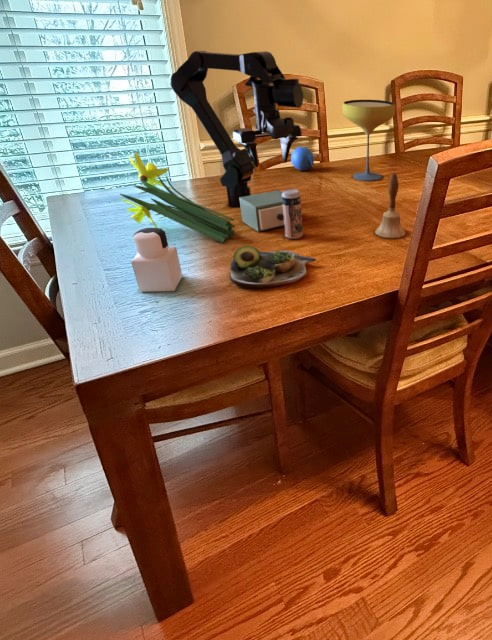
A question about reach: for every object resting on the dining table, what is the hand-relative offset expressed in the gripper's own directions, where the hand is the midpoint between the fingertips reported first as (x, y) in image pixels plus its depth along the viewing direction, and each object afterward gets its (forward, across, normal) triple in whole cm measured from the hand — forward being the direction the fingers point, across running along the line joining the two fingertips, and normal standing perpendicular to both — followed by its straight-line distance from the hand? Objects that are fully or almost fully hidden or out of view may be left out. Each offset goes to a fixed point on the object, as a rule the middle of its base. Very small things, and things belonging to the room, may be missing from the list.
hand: (271, 164), depth 135 cm
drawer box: (+13, -7, -10) cm, 18 cm away
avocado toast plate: (+13, -23, -38) cm, 46 cm away
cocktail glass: (+13, +45, +12) cm, 49 cm away
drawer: (+12, -7, -12) cm, 18 cm away
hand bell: (+13, +16, -36) cm, 41 cm away
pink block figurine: (+13, -44, -30) cm, 54 cm away
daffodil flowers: (+13, -28, -2) cm, 31 cm away
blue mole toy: (+13, +32, +34) cm, 49 cm away
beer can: (+13, -7, -23) cm, 27 cm away
